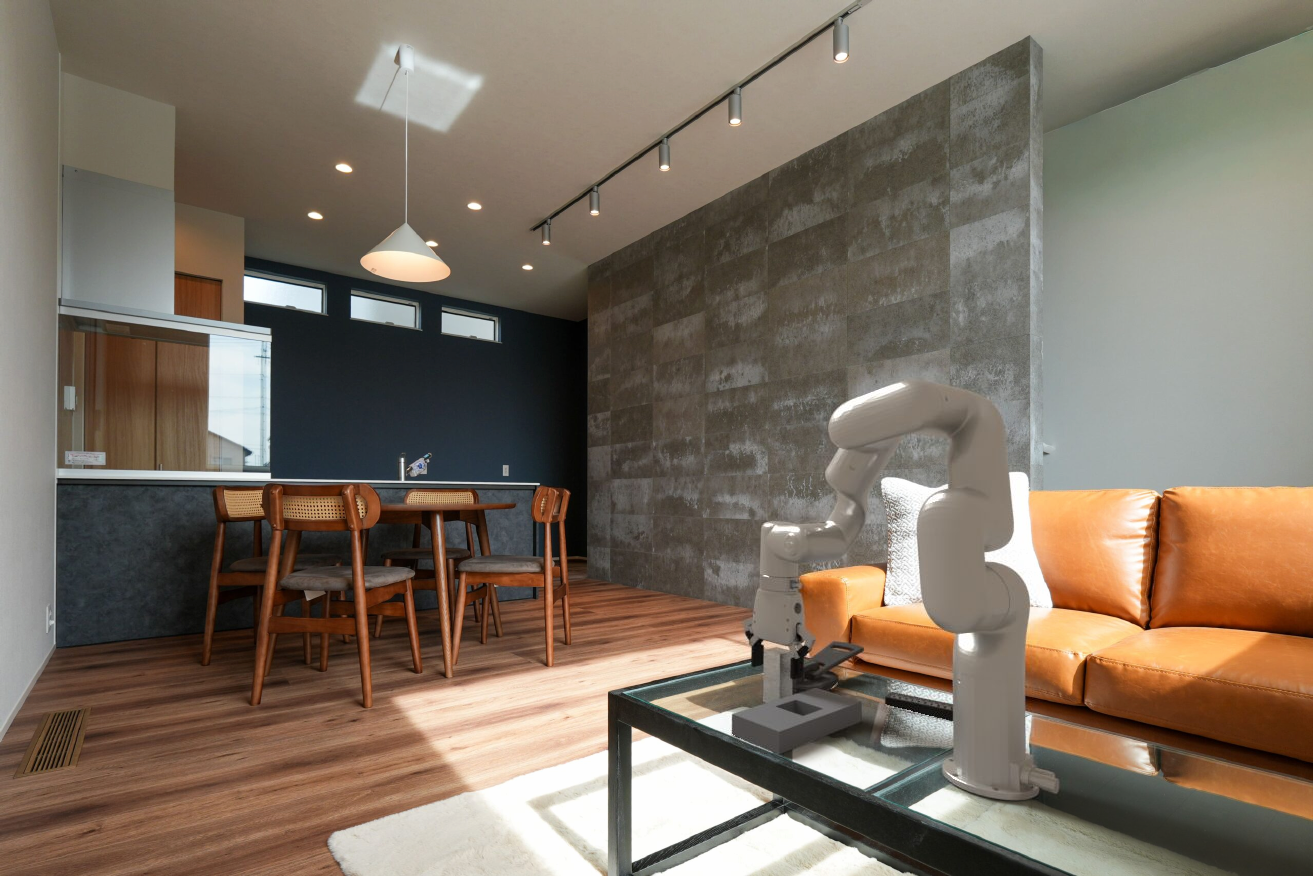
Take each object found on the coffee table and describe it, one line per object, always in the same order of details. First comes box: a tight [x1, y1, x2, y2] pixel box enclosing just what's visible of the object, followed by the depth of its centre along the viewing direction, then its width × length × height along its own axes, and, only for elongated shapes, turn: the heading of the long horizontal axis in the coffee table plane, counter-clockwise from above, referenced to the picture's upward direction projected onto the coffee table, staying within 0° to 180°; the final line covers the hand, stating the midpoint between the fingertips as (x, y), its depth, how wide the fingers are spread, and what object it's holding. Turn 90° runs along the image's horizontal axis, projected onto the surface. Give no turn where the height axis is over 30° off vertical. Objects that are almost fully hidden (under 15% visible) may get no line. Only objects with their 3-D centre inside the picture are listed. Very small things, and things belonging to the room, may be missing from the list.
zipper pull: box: [792, 640, 865, 695], centre depth 142 cm, size 9×7×25 cm
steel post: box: [762, 646, 793, 704], centre depth 128 cm, size 4×4×10 cm
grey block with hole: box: [731, 688, 863, 755], centre depth 114 cm, size 10×24×4 cm, turn 131°
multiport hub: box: [884, 691, 953, 722], centre depth 124 cm, size 4×14×2 cm, turn 54°
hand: (776, 671), depth 128 cm, fingers open, 9 cm apart
